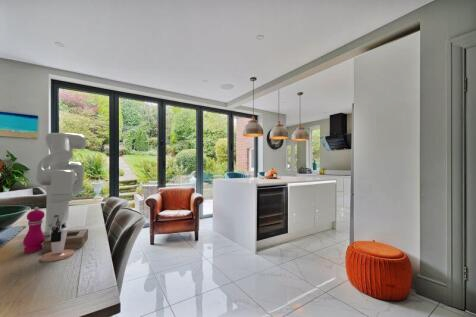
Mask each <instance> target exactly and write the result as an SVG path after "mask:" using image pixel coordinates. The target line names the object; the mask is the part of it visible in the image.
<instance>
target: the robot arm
mask: <svg viewBox="0 0 476 317" xmlns="http://www.w3.org/2000/svg"><path fill="white" fill-rule="evenodd" d="M45 143H46V146H47V148H48V150H49V152H50V153H49V154H48V155H46V156H44V157H43V158H42V159H41V160H40V161H39V162H38V164H37V167H36V168H37V169H36V177H35V180H36V181H35V182H36V184H38V185H40V186H43V187H44V186H45V194H46V205H45V206H46V210H45V222H44V224H45V225H44V230H42V232H43V234H44V236H50V233H49V232H50V230H52V231H51V242H60V241H61V232H60V231H61V228H68V231H70V228H69V227H67V222H68V220H69V215H70V214H69V213H70V202H72V200H73V195H79V194H81V193H82V192H83V187H84V172H85V171H84V169H85V167H84V164H82V163H81V162H78V161H70V160H72V158H73V157H74V152H73V151H74V150H84V149H85V148H86V146H87V138H86V136H85V135H83V134H81V133H80V134H79V133H71V132H49V133H47V134H46V135H45ZM58 223H60V224H58ZM58 226H59V229H58Z"/></svg>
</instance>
